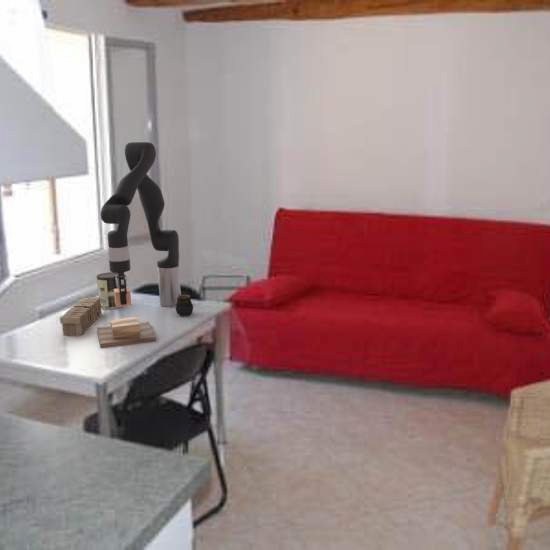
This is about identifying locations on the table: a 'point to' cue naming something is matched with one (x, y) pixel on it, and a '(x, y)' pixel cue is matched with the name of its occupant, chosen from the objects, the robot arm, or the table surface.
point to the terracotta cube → (117, 297)
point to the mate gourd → (184, 305)
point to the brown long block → (81, 316)
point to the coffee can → (107, 290)
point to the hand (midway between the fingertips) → (122, 302)
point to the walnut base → (126, 339)
